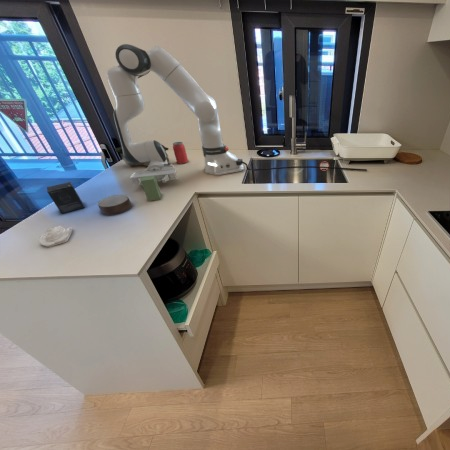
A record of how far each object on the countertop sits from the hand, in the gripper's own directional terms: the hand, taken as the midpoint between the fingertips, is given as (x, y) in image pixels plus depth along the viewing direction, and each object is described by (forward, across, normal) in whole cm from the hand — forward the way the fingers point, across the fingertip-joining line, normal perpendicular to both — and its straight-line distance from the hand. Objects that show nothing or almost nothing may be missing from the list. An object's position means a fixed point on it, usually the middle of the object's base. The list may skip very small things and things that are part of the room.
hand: (152, 182), depth 114 cm
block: (+6, 0, +6) cm, 8 cm away
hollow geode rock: (-46, -11, +6) cm, 47 cm away
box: (+6, -32, +6) cm, 33 cm away
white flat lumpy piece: (+30, -28, +6) cm, 41 cm away
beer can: (-42, +10, +6) cm, 44 cm away
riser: (+12, -14, +6) cm, 19 cm away
